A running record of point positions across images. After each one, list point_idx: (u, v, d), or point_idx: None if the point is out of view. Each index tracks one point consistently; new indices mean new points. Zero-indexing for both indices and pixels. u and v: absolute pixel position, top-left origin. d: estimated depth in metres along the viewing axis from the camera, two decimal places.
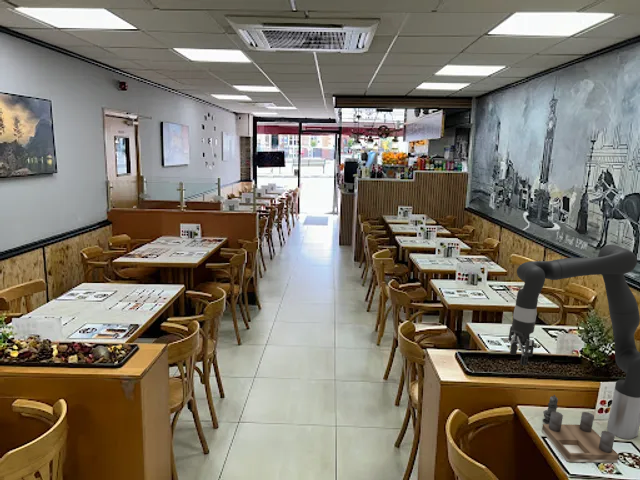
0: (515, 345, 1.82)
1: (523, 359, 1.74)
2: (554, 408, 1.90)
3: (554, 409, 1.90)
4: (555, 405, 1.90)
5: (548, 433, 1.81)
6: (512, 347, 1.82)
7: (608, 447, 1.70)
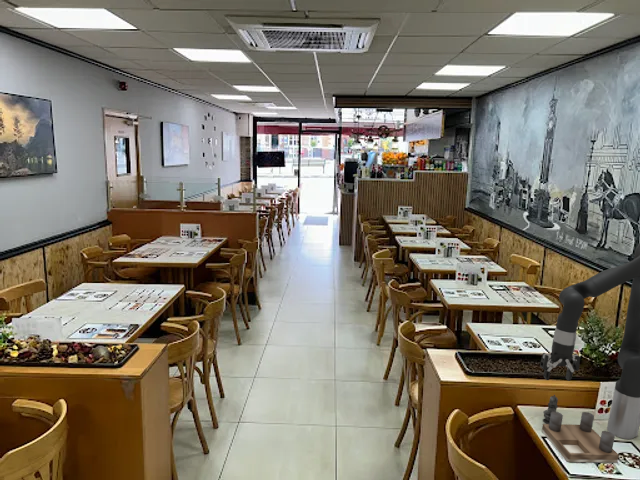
0: None
1: (571, 375, 1.88)
2: (554, 408, 1.90)
3: (554, 409, 1.90)
4: (555, 405, 1.90)
5: (548, 433, 1.81)
6: None
7: (608, 447, 1.70)
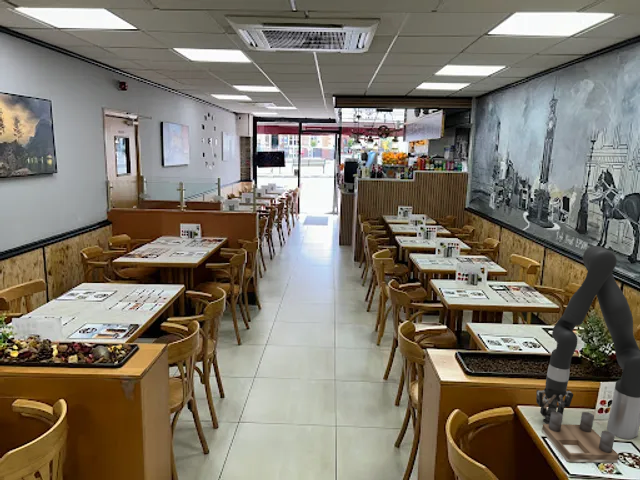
0: None
1: (562, 411, 1.91)
2: (554, 408, 1.90)
3: (554, 409, 1.90)
4: (555, 405, 1.90)
5: (548, 433, 1.81)
6: None
7: (608, 447, 1.70)
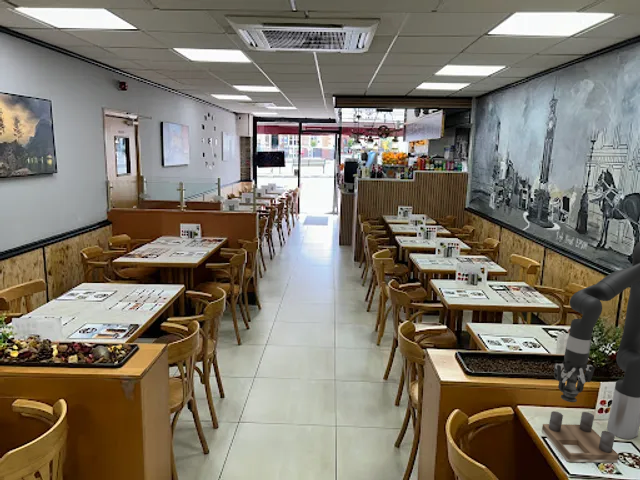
0: None
1: (582, 386, 1.77)
2: (573, 383, 1.75)
3: (573, 384, 1.76)
4: (574, 379, 1.75)
5: (548, 433, 1.81)
6: None
7: (608, 447, 1.70)
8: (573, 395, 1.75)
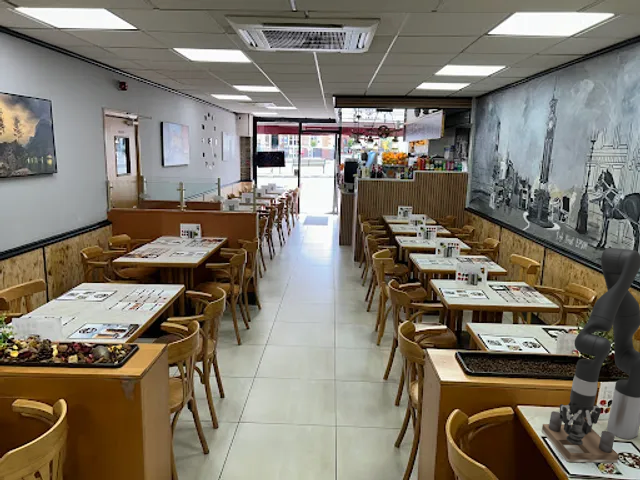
0: None
1: (588, 428, 1.71)
2: (579, 425, 1.70)
3: (579, 426, 1.70)
4: (581, 421, 1.70)
5: (548, 433, 1.81)
6: None
7: (608, 447, 1.70)
8: (579, 438, 1.69)
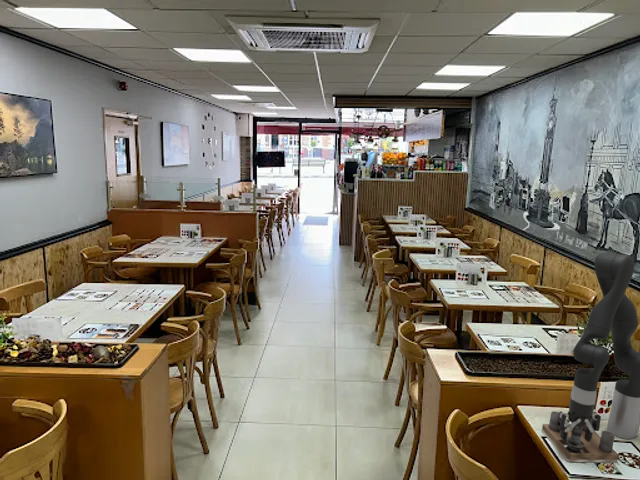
0: None
1: (591, 435, 1.71)
2: (578, 436, 1.70)
3: (578, 437, 1.70)
4: (579, 432, 1.70)
5: (548, 433, 1.81)
6: None
7: (608, 447, 1.70)
8: (578, 449, 1.70)
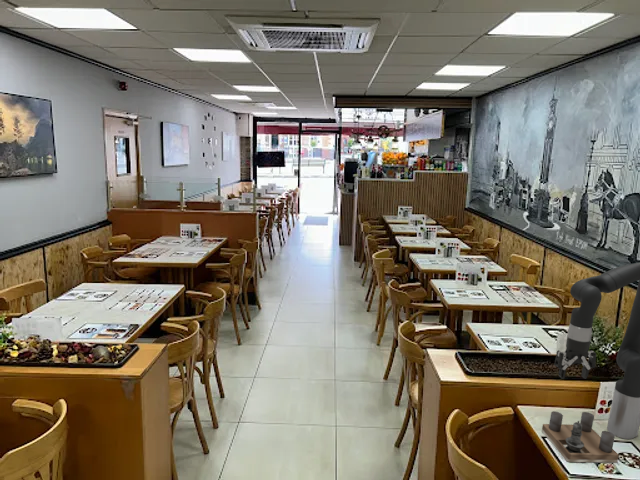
0: None
1: (587, 372, 1.79)
2: (578, 436, 1.70)
3: (578, 437, 1.70)
4: (579, 432, 1.70)
5: (548, 433, 1.81)
6: None
7: (608, 447, 1.70)
8: (578, 449, 1.70)
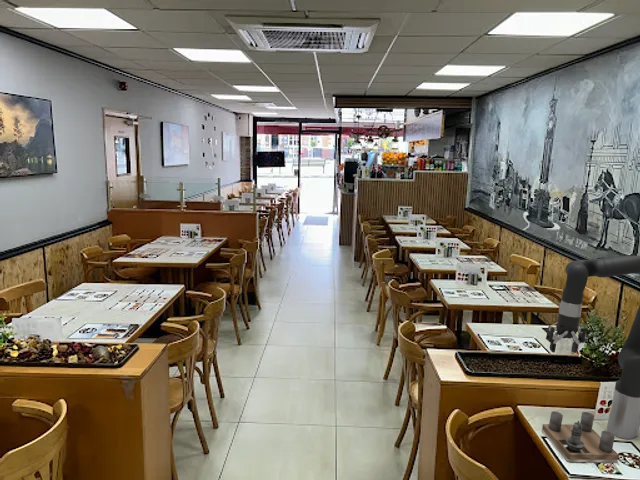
0: None
1: (577, 347, 1.90)
2: (578, 436, 1.70)
3: (578, 437, 1.70)
4: (579, 432, 1.70)
5: (548, 433, 1.81)
6: None
7: (608, 447, 1.70)
8: (578, 449, 1.70)
